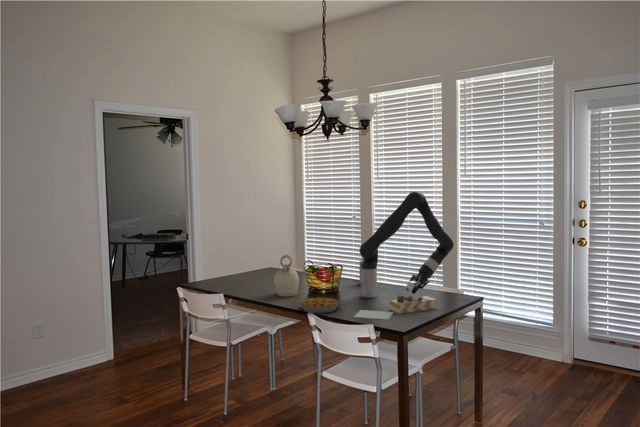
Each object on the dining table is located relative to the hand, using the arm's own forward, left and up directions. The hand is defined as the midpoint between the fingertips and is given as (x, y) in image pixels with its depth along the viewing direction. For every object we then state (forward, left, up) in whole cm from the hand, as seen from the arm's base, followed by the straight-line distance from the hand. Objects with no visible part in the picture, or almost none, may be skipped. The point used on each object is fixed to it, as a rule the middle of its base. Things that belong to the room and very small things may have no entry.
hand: (410, 291), depth 275 cm
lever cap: (+1, +1, -5) cm, 5 cm away
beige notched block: (+1, +1, -10) cm, 10 cm away
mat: (-17, -17, -10) cm, 25 cm away
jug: (-80, +17, -10) cm, 82 cm away
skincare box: (-39, +60, -10) cm, 72 cm away
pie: (-49, -11, -10) cm, 51 cm away
